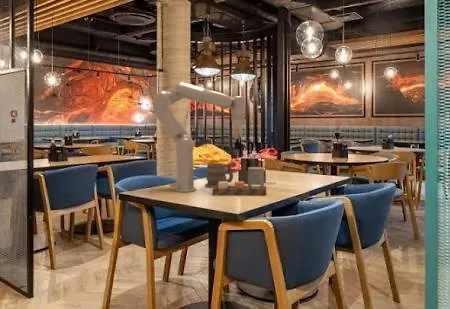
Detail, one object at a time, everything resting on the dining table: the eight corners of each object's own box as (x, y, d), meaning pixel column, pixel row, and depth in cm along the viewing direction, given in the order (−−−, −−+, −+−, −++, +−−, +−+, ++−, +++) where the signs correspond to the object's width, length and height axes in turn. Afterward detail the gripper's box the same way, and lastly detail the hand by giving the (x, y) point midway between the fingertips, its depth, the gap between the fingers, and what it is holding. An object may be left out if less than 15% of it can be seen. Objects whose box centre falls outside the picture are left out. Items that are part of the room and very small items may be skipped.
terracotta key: (234, 190, 224) (234, 182, 224) (235, 189, 229) (235, 181, 229) (243, 190, 224) (243, 182, 224) (244, 189, 229) (244, 181, 229)
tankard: (210, 188, 244) (209, 163, 243) (203, 185, 256) (202, 161, 255) (240, 186, 252) (240, 162, 250) (232, 183, 263) (232, 160, 262)
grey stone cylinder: (266, 187, 246) (266, 167, 245) (259, 190, 238) (259, 169, 237) (252, 186, 251) (252, 166, 250) (245, 189, 242) (244, 168, 241)
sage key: (251, 194, 224) (251, 186, 224) (251, 192, 229) (251, 184, 228) (260, 194, 224) (260, 186, 223) (260, 192, 228) (260, 184, 228)
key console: (212, 195, 223) (212, 188, 223) (214, 192, 233) (214, 185, 233) (266, 195, 221) (266, 189, 220) (265, 192, 231) (265, 186, 230)
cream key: (218, 190, 225) (218, 182, 225) (219, 189, 230) (219, 181, 230) (227, 190, 225) (227, 182, 224) (228, 189, 230) (228, 181, 229)
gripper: (232, 117, 245) (232, 148, 246) (230, 117, 230) (229, 150, 232) (245, 117, 244) (244, 148, 246) (243, 117, 229) (243, 150, 231)
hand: (237, 149), depth 239 cm, fingers closed
